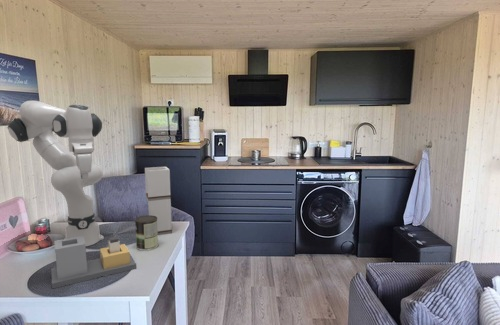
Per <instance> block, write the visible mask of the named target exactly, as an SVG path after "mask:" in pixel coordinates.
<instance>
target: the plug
mask: <svg viewBox="0 0 500 325" xmlns="http://www.w3.org/2000/svg"><path fill="white" fill-rule="evenodd" d="M120 242H121V241H120V239H119V237H118V236H113V237H109V238H108V242H107V243H108V247H109V254H111V253H116V252H120V245H121V244H120Z"/></svg>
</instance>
